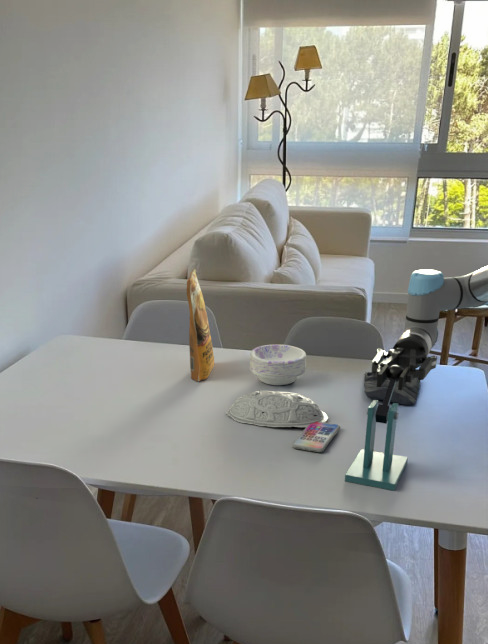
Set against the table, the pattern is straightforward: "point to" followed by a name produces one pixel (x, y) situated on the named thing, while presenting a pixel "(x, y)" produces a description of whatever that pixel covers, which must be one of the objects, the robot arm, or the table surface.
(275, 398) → the carved stone relief
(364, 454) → the bracket
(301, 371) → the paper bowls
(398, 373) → the lever
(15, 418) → the table surface
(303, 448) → the smartphone
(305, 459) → the table surface
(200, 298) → the pancake mix bag
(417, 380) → the dark slate chunk
